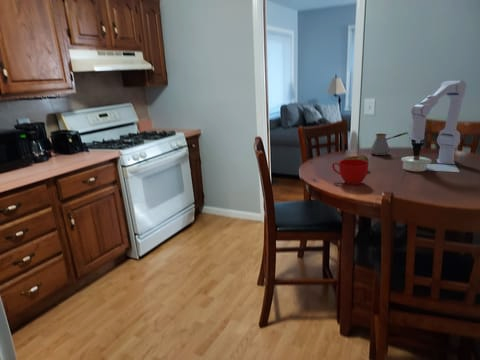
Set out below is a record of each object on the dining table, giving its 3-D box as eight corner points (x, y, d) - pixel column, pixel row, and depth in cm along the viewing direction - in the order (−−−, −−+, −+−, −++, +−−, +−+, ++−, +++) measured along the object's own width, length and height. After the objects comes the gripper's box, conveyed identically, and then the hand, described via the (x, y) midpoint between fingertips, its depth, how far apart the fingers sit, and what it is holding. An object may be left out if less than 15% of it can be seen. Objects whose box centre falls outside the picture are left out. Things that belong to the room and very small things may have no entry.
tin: (343, 173, 178) (344, 157, 175) (340, 171, 181) (340, 156, 178) (368, 169, 181) (369, 154, 179) (364, 168, 184) (365, 153, 182)
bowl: (402, 165, 186) (403, 157, 184) (425, 167, 181) (426, 159, 180) (402, 171, 176) (403, 162, 175) (426, 172, 172) (427, 163, 170)
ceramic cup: (337, 176, 172) (338, 157, 169) (371, 181, 162) (372, 161, 159) (326, 183, 162) (326, 162, 160) (361, 188, 152) (362, 167, 149)
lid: (401, 157, 186) (402, 149, 185) (430, 158, 180) (431, 150, 179) (401, 163, 174) (402, 155, 173) (432, 164, 168) (433, 156, 167)
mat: (425, 164, 187) (425, 163, 186) (455, 166, 181) (455, 165, 181) (427, 170, 174) (427, 170, 174) (459, 172, 169) (459, 172, 169)
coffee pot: (367, 155, 213) (369, 131, 209) (373, 151, 222) (374, 129, 218) (403, 158, 201) (406, 133, 196) (408, 155, 209) (411, 130, 205)
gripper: (409, 126, 180) (407, 151, 184) (410, 130, 168) (407, 157, 172) (424, 126, 177) (421, 151, 181) (426, 130, 165) (423, 157, 169)
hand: (415, 154), depth 176 cm, fingers open, 7 cm apart
